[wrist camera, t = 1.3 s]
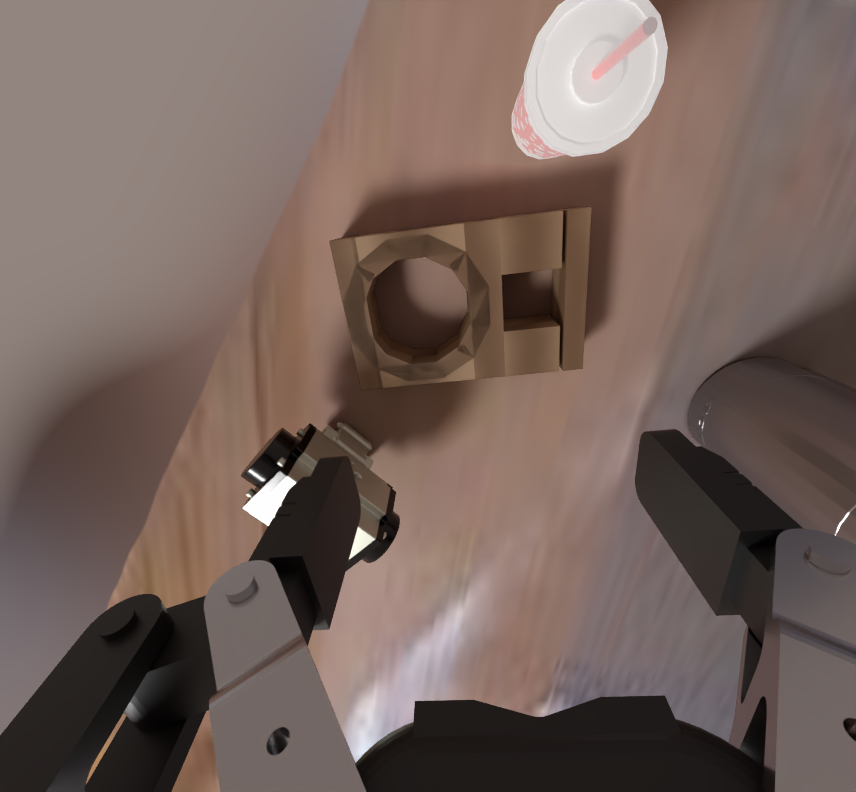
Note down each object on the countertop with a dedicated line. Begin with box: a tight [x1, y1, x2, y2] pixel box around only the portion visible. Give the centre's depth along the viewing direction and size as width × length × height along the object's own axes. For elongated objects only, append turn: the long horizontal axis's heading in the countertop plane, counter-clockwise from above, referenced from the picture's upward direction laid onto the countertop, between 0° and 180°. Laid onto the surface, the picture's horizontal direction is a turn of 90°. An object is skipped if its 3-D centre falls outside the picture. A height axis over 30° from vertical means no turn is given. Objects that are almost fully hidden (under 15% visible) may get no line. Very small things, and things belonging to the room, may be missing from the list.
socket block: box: [329, 207, 592, 390], centre depth 29 cm, size 17×11×4 cm, turn 97°
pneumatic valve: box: [241, 422, 400, 572], centre depth 31 cm, size 6×12×12 cm, turn 46°
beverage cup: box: [512, 0, 668, 159], centre depth 19 cm, size 6×6×14 cm
